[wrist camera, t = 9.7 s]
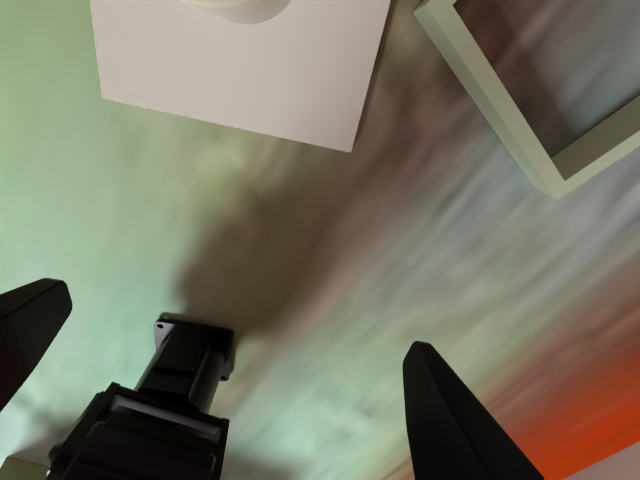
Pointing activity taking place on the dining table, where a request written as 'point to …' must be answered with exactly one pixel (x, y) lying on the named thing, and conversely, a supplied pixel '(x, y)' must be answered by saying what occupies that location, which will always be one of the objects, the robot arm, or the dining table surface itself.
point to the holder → (509, 124)
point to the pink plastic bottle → (242, 9)
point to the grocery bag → (22, 470)
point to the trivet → (244, 64)
